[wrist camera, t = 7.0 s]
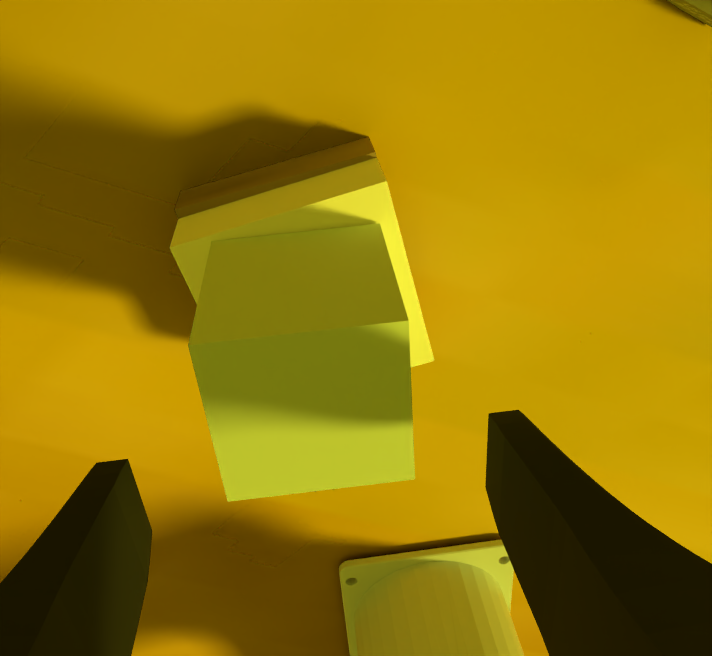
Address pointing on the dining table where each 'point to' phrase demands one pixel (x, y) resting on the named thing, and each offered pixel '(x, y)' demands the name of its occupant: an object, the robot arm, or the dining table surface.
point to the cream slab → (307, 229)
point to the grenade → (696, 9)
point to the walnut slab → (272, 177)
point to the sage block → (304, 362)
